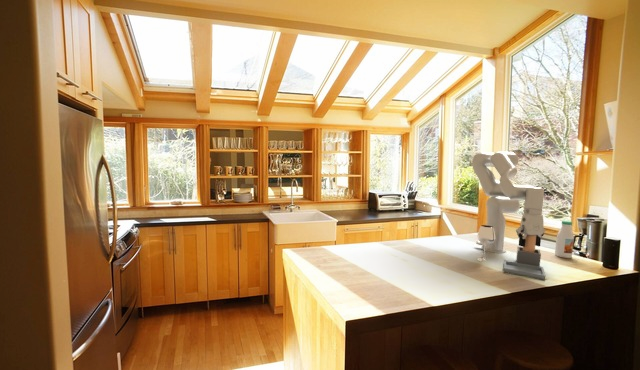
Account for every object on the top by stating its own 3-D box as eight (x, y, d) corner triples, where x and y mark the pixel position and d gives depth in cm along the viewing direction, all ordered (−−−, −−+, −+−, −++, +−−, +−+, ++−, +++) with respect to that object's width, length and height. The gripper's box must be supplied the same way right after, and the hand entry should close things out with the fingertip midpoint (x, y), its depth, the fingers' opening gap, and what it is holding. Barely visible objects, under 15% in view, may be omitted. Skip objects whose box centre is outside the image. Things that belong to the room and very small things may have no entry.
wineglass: (492, 259, 169) (495, 225, 167) (493, 264, 161) (496, 228, 160) (475, 257, 172) (478, 223, 171) (475, 261, 165) (478, 226, 163)
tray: (503, 272, 150) (503, 267, 150) (504, 264, 162) (504, 260, 162) (545, 280, 142) (545, 275, 142) (542, 271, 154) (543, 267, 154)
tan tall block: (521, 264, 162) (524, 234, 161) (521, 261, 166) (524, 232, 165) (533, 266, 160) (536, 236, 158) (533, 263, 164) (536, 234, 162)
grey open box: (516, 265, 161) (517, 250, 161) (516, 260, 170) (517, 246, 169) (539, 269, 156) (540, 254, 156) (538, 264, 165) (539, 249, 164)
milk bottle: (557, 257, 180) (560, 221, 178) (552, 253, 187) (556, 219, 185) (573, 259, 177) (578, 223, 175) (569, 255, 184) (573, 220, 182)
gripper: (524, 213, 155) (521, 248, 156) (553, 213, 159) (550, 247, 161) (512, 210, 162) (508, 244, 164) (539, 210, 166) (536, 243, 168)
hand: (529, 245), depth 162 cm, fingers open, 8 cm apart
